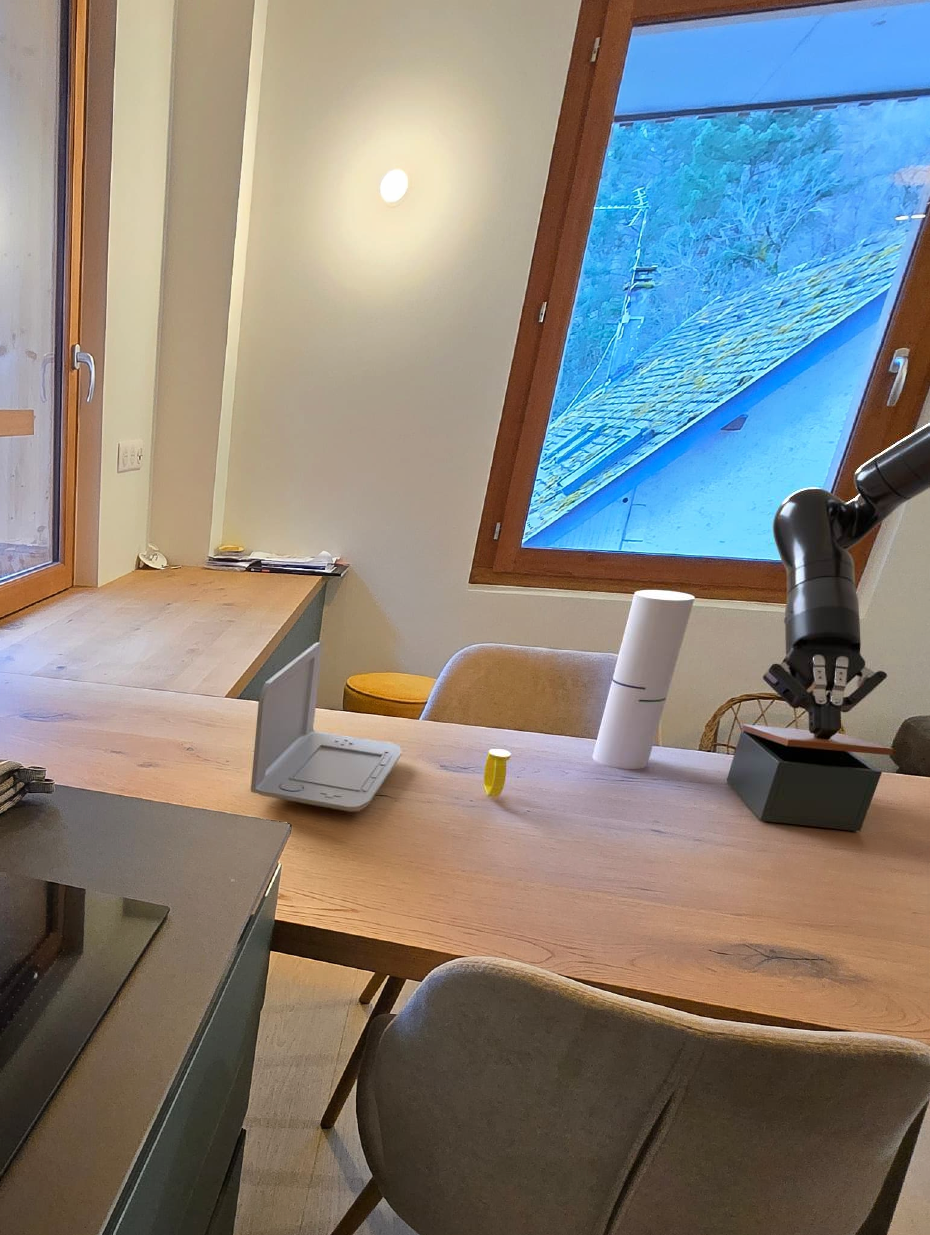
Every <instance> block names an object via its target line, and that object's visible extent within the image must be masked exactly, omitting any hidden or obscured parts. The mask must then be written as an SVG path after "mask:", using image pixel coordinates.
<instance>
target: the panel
mask: <svg viewBox="0 0 930 1235" xmlns="http://www.w3.org/2000/svg"><path fill="white" fill-rule="evenodd" d="M741 731H746V732H748V733H751V734H754V735H757V736H760V737H763V738H766V739H769V740H771V741H774V742H777V743H780V744H783V745H786V746H793V747H804V748H815V749H827V750H838V751H849V752H854V753H860V754H873V755H883V756H892V755H893V753H894V748H892V747H889V746H886V745H883V744H882V745H881V744H879V743H875V742H871V741H868V740H864V739H860V738H857V737H853V736H850V735H846V734H842V733H839V732H837V733H836V734H835V735H833V736H832V737H831V738H830V739H821V738H814V734H813V733H810V731H809V729H801V728H789V727H778V726H766V725H753V724H742V728H741Z"/></svg>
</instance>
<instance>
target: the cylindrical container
mask: <svg viewBox="0 0 930 1235" xmlns="http://www.w3.org/2000/svg"><path fill="white" fill-rule="evenodd" d="M694 603H695V596H694V595H692V594H689V593H685V592H680V591H674V590H665V589H664V590H663V589H644V590H637V591H634V594H633V598H632V602H631V605H630V609H629V613H628V618H627V621H626V625H625V628H624V633H623V636H622V641H621V644H620V648H619V652H618V656H617V659H616V664H615V668H614V672H613V675H612V679H611V684H610V686H609V692H608V695H607V698H606V699H607V700H606V704H605V706H604V711H603V714H602V719H601V722H600V725H599V726H600V727H599V730H598V734H597V739H596V743H595V745H594V750H593V753H592V759H593V760H594V761H595V762H597V763H599V764H601V765H604V766H607V767H611V768H615V769H622V770H639V769H644V768H647V766H648V764H649V760H650V757H651V753H652V750H653V747H654V743H655V739H656V736H657V733H658V728H659V726H660V721H661V718H662V714H663V711H664V707H665V704H666V701H667V696H668V693H669V690H670V687H671V682H672V679H673V676H674V672H675V670H676V669H675V668H676V665H677V662H678V658H679V655H680V651H681V648H682V644H683V640H684V637H685V633H686V631H687V630H686V629H687V627H688V623H689V619H690V616H691V612H692V610H693V609H692V608H693V605H694Z"/></svg>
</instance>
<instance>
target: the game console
mask: <svg viewBox="0 0 930 1235" xmlns="http://www.w3.org/2000/svg"><path fill="white" fill-rule="evenodd" d="M322 656H323V645H322V643H321V642H317V641H316V642H314V644H312V645H311V646H309V647H308V648H307V649H306V650H304V651H303V652H302V653H300V654H299V655H298V656H297V657H295V659H292V661H290V662H289V663H288V664H287V665H285V666H284V667H282V669H280V670H279V671H278V672H276V673H275V674H274V675H273V676H271V677H270V678H269V679H268V680H266V681H265V682H264V684H263V686H262V688H261V691H260V695H259V697H258V705H257V715H256V718H257V719H256V727H255V736H254V750H253V759H252V760H253V761H252V771H251V772H252V773H251V781H250V792H251V793H253V794H257V795H259V796H263V797H268V798H272V799H277V800H278V799H279V800H283V801H289V802H294V803H295V802H296V803H300V804H305V805H311V806H315V807H321V808H328V809H333V810H339V811H343V812H348V813H353V812H355V813H356V812H358V813H359V812H360V811H362V810H363V809H365V808H366V807H368V805H369V804H370V803H371V801H372V799H373V798H374V797H375V796H376V794H377V792H378V791H379V790H380V788H381V787H382V785H383V783H384V782H385V780H386V779H387V778H388V776H389V774H390V773H391V772H392V770H393V769H394V767H395V765H396V764H397V763H398V761H399V760H400V758H401V757H402V755H403V750H402V748H401V745H399V744H397V743H395V742H389V741H383V740H378V739H377V740H376V739H370V738H364V737H363V738H362V737H358V736H357V737H355V736H351V735H350V736H349V735H342V734H336V733H329V732H322V731H316V730H314V725H315V724H314V723H315V716H316V707H317V698H318V691H319V683H320V682H319V680H320V674H321V673H320V672H321V665H322V664H321V663H322Z"/></svg>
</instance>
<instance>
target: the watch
mask: <svg viewBox="0 0 930 1235" xmlns="http://www.w3.org/2000/svg"><path fill="white" fill-rule="evenodd" d="M511 755H512V754H511V752H510V751H508V750H505V749H502V748H501V749H500V748H492V749H489V750H488V751H487V758H486V760H485V765H484V771H483V788H484V791H485V793H486V796H487V797H499V796H500V795H501V794H502V792H503V789H504V787H505V781H506V777H507V761H509V760H511Z"/></svg>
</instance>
